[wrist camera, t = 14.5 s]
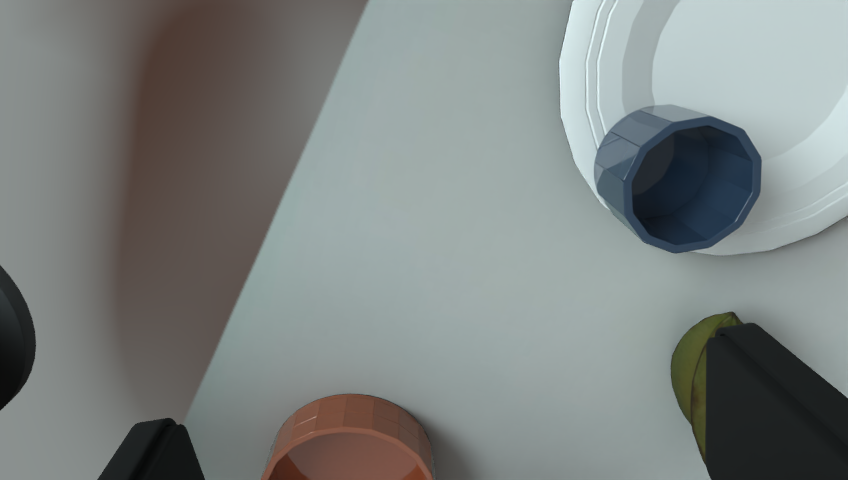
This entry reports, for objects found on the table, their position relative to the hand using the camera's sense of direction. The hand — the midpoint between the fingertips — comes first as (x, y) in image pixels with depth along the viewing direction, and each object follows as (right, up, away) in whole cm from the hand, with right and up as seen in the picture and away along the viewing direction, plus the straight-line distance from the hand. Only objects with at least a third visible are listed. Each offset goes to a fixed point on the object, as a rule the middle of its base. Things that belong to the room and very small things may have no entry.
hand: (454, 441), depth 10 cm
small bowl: (+14, +8, +27) cm, 31 cm away
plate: (+20, +15, +27) cm, 37 cm away
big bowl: (-6, -14, +36) cm, 40 cm away
